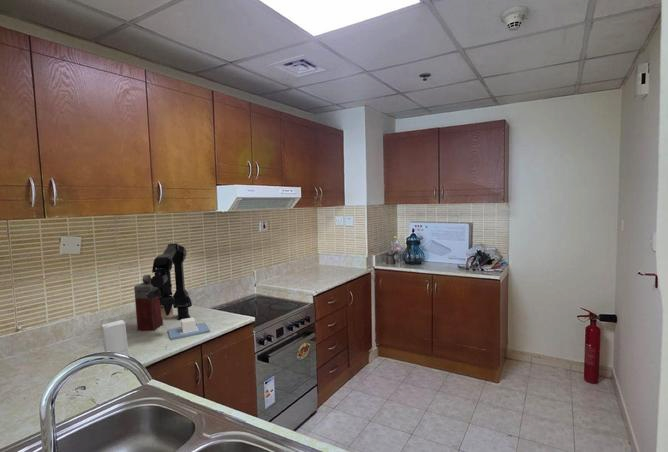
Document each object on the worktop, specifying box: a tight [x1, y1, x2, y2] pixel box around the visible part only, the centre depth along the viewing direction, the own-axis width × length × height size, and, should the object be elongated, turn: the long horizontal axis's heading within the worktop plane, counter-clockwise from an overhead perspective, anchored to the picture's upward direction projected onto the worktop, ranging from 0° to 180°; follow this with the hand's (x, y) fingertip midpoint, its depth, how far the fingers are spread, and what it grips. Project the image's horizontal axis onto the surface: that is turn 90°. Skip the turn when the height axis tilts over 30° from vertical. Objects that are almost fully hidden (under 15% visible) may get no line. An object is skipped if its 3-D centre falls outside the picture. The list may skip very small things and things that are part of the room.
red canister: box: [133, 274, 164, 332], centre depth 192 cm, size 9×11×28 cm
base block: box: [180, 317, 197, 333], centre depth 185 cm, size 6×6×5 cm
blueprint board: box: [167, 322, 211, 341], centre depth 185 cm, size 14×18×1 cm
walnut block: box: [160, 305, 174, 319], centre depth 180 cm, size 5×5×5 cm
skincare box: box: [101, 319, 129, 356], centre depth 157 cm, size 8×6×15 cm
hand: (167, 313), depth 180 cm, fingers closed on walnut block, 5 cm apart
